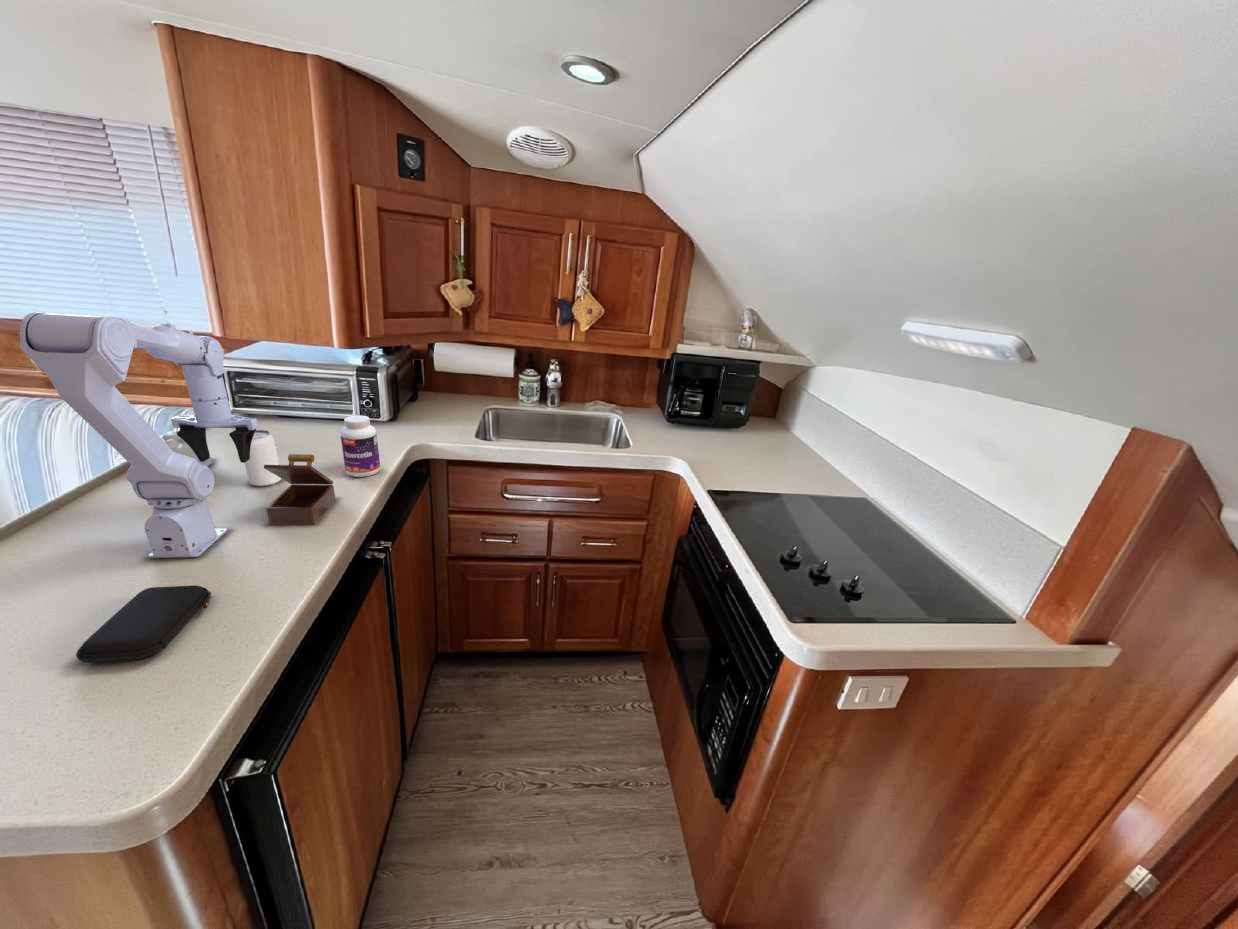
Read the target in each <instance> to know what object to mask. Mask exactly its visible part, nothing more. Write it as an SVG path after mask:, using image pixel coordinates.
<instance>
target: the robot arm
mask: <svg viewBox="0 0 1238 929" xmlns="http://www.w3.org/2000/svg"><path fill="white" fill-rule="evenodd" d="M137 348H142V349H144V350H145V351H146V353H147V354H148V355H150V357H151V356H152V357H153V358H156V359H160V360H164V361H168V362H173V364H175V365H176V366H177V367H179V366H181V370H182V373H183V377H184V381H185V384H186V388H187V391H188V395H189V399H190V402H191V406H192V409H193V413H194V415H176V416H174V417H172V418H170V421H171V423H172V427H173V429H179V430H177V431H178V432H177V436H179V437H180V438H181V439H182V440H184V441H185V442H186V443H187V444H188V445H189V446H190V448H191V449H192V450H193V451H194V453H195V454H196V456H197V457H198V459H199V460H200V462H204V461H206V460H207V459H209V458H210V457H211V454H210V455H209V453H210V450H208V449H209V446H208V442H207V429H235V430H233V431H231V432H229V434H228V436H229V437H230V438H231V440H232V441H233V444H234V445H235V448H236V451H237V456H238V459H239V461H240V463H244V462H246V461H248V460H249V459H250V448H251V442H252V439H253V436H254V433H255V431H256V430H257V429H258V428H259V423H258V419H257V418H255V417H246V416H241V415H236V414H235V415H234V414H232V410H231V406H230V401H229V398H228V397H229V396H228V393H227V389H226V385H225V381H224V377H223V374H225V366H224V361H225V349H224V348H223V347H222V344H221V343H220V341H218V340H217V339H215V338H213V337H212V336H206V335H205V336H204V335H195V334H194V332H193V331H191V330H179V329H176V325H175V324H172V323H160V325H154V326H152V327H148V326H145V325H141V324H138V323H137V322H133V321H131V320H129V319H128V318H126V317H117V316H114V315H103V316H97V315H83V314H81V315H80V314H79V315H78V314H76V315H75V314H61V313H48V312H41V311H34V312H31V313H30V312H29V313H28V314H27V315H25V316H24V318H23V319H22V321H21V323H20V327H19V349H20V350H21V351H22V352H23V353H24V354H25V355H26V356H27V357H28V358H29V359H31V361H32V362H33V363H35V364H36V365H37V366H38V367H39V368H40V369H41V370H42V371H43V372H44V374H46V375H47V377H48V379H49V380H50V382H51V384H52V385H53V387H54V389H55V391H56V392H57V394H58V395H59V397H60V398H61V399H62V400H63V401H64V402H65V403H66V404H67V405H68V406H69V407H70V408H71V409H72V410H74V412H75V413H77V415H79V416H80V417H81V418H82V419H83V420H84V422H86V423H87V424H88V425H89V426H90V427H91V428H92V429H93V430H94V431H95V432H97V434H99V436H101V437H102V438H103V439H104V440H105V442H107V443H108V444H109V445H110V446H111V447H112V448H113V449H114V450H115V451H116V452H117V453H118V454H120V456H121V457H123V458H124V460H126V461H127V462H128V463H129V464H130V466H129V468H128V469H127V471H126V476H125V479H126V481H128V482H129V483H130V484H131V487H132V489H133V492H134V493H135V495H136V497H137V498H139V499H141V500H144V501H146V502H147V505H148V506H149V507H150V506H151V507H153V511H152V512H151V515H150V516H149V517H148V518H147V519H146V521H145V523H144V525H143V526H144V528H143V529H144V532H145V535H146V537H147V540H148V543H149V546H150V550H151V552H150V553H149V554H147V556H148V558H149V559H150V558H153V559H154V558H157V559H158V558H159V559H160V558H165V559H166V558H197V557H198V558H199V557H200V556H201V555H202V554H203V553H204V552H205V551H206V550H208V548H210V547H211V546H213V544H215V543H216V542H217V541H218V540H219V539H220V538H221V537H222V536H224V535H225V534H226V533H227V532H228V528H225V527H224V528H221V527H220V528H216V527H215V524H214V520H213V516H212V513H211V510H210V505H209V502H208V499H207V498H208V497H209V496H210V495H211V494H212V492H213V490H214V488H215V477H214V473H213V471H212V470H211V469H210V467H209V466H208V467H207V466H205V465H202V464H200V463H199V462H198V461H197V460H196V459H194V458H191V457H188V456H185V455H182V454H179V453H176V452H173V451H172V450H171V448H170V447H169V446H168V445H167V444H166V443H165V442H164V441H163V440H162V438H161V437H160V434H158V433H157V431H155V429H154V428H153V427H152V425H150V424H149V423H148V422H147V420H145V418H144V417H143V416H142V414H140V413H139V412H138V411H137V409H135V407H134V406H133V405H132V404H131V403H130V402H129V400H128V399H126V397H125V396H124V395H123V394H122V393H121V392H120V391H119V389H118V388H116V386H117V385H119V384H121V383H123V382H124V381H126V379H127V374H128V372H129V367H130V363H131V360H132V356H133V352H134V350H135V349H137ZM244 464H245V463H244Z"/></svg>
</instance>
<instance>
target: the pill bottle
mask: <svg viewBox="0 0 1238 929" xmlns="http://www.w3.org/2000/svg"><path fill="white" fill-rule="evenodd" d="M343 422H344V427H342V428H341V430H340V433H339V434H340V435H339V436H340V441H341V442H340V443H341V449H342V458H343V463H344V471H345V473H346V474H347V475H349V476H351V477H355V478H365V477H370V476H373V475H376V474H377V473H379V471H380V470H381V460H380V453H379V442H378V432H377V429H376V428H375V426H373V425H371V420H370V417H369V416H367V415H361V414H360V415H359V414H358V415H357V414H356V415H351V416H347V417H345V418H344V421H343Z"/></svg>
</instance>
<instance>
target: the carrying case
mask: <svg viewBox="0 0 1238 929" xmlns="http://www.w3.org/2000/svg"><path fill="white" fill-rule="evenodd" d="M211 598H212V591H209V590H208V588H206V587H204V586H201V585H176V586H175V585H174V586H155V587H154V586H152V587H148V588H147V587H146V588H145V589H143V590H141V591H139V592H138V593H137V594H136V595H135V596H134V597H132V598H131V599H130V600H129V601H128V602H127V603H125V605H123V606H122V607H121V608H120V609H119V610H118V611H117V612H116V613H114V614H113V615H112V616H111V617H110V618H109V619H108V620H106V621H105V622H104V623H103V624H102V625H101V626H100V627H99V628H98V629H97V630H96V631H94V632H93V633H92V635H90V636H88V638H87V639H86V640H85V641H84V642H83V643H82V644H81V646H80V647H79V648H78V649H77V651H76V658H77V660H78V661H80V662H82V663H91V664H93V663H106V662H107V663H108V662H120V661H121V662H122V661H136V660H145V659H150V658H152V657H154V656H156V655H157V654H158V653H160V652H161V651H162V649H165V648H166V647H167V646H168V644H169V643H170V642H171V641H172V640H173V639H174V638H175V637H176V636H177V634H178V633H179V632H180V631H181V630H182V629H183V628H184V627H185V626H186V625H187V623H188V622H189V621H190V620H191V619H192V618H193V617H194V616H195V614H196V613H197V612H198V611H199V610H200V609H201V608H202V607H203V608H204V609H207V608H208V607H209V604H210V601H211Z"/></svg>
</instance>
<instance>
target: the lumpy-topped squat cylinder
mask: <svg viewBox="0 0 1238 929" xmlns="http://www.w3.org/2000/svg"><path fill="white" fill-rule="evenodd" d="M178 431H179V430H177V431H176V430H170V431H167V432H165V433H164V434H159V436H160V437H161V438H162V440H163V441H164V442H165V443H166V444H167V445H168V446H169V447H170V448H171V450H172V451H173V452H176V453H179V454H182V455H185V456H188V457H191V458H194V459H196V460H197V461H198V462H199V463H200V464H202V465H205V466H207V467H208V468H209V466H210V465H212V463H213V460H212V456H211V453H210V452H209V455H210V458H209V459H207V460H206V461H204V462H200V460H199V459H198V457H197V456H196V454H195V453H194V451H193V450H192V449H191V448H190V446H189V445H188V444H187V443H186V442H185V441H184V440H182V439H181V438H180V437H179V436H177V432H178ZM208 450H209V448H208ZM209 451H210V450H209Z"/></svg>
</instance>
